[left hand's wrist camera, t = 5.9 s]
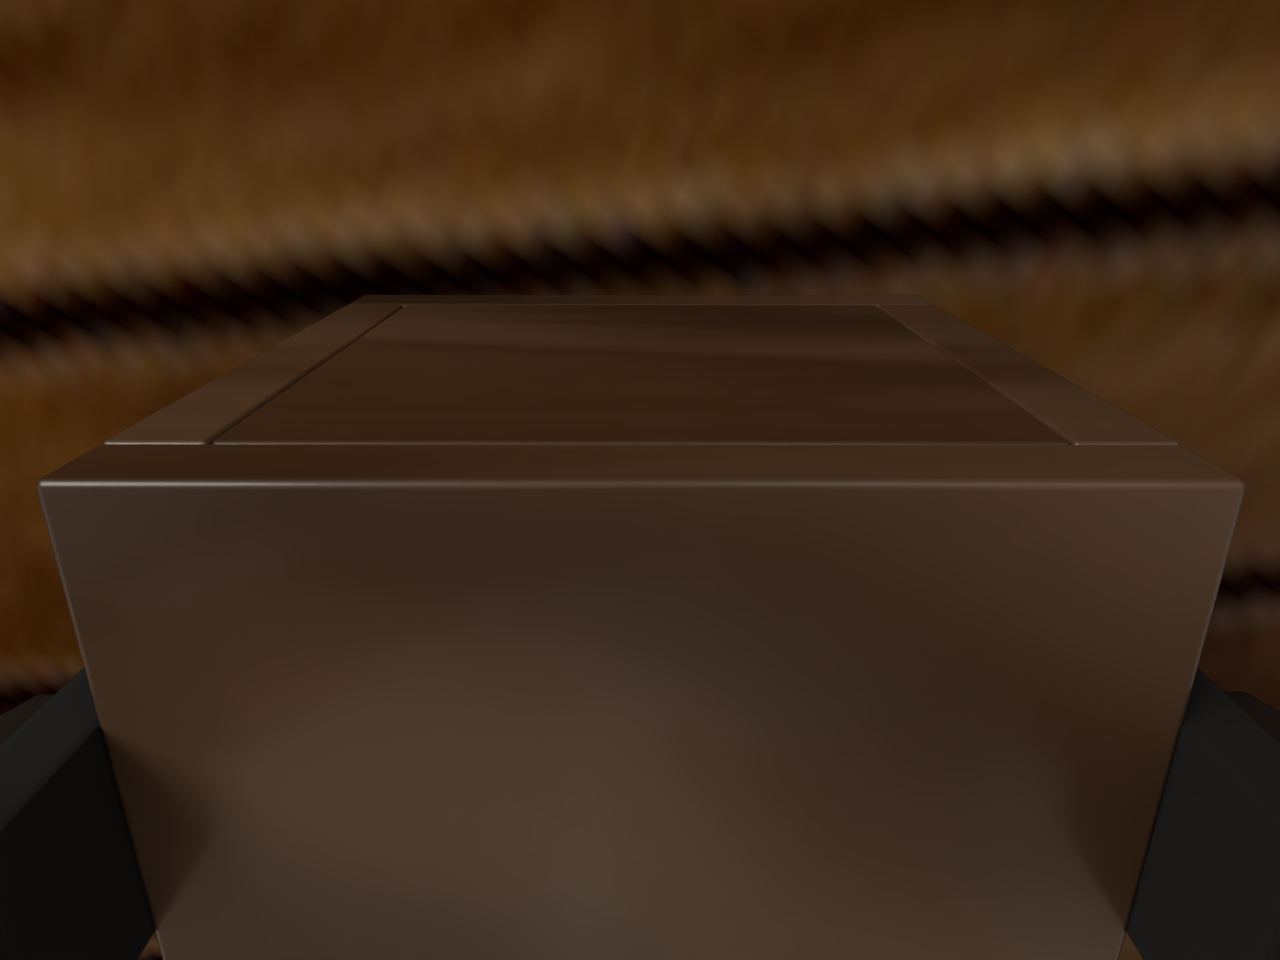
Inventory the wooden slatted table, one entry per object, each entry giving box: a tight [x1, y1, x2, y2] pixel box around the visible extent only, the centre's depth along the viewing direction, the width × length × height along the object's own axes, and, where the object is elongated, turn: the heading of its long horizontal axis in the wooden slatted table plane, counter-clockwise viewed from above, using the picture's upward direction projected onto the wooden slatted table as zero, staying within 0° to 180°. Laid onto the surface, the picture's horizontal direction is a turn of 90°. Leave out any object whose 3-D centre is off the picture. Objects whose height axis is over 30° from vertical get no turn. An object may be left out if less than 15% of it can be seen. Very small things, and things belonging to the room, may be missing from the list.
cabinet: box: [37, 295, 1245, 960], centre depth 15 cm, size 18×11×10 cm, turn 0°
